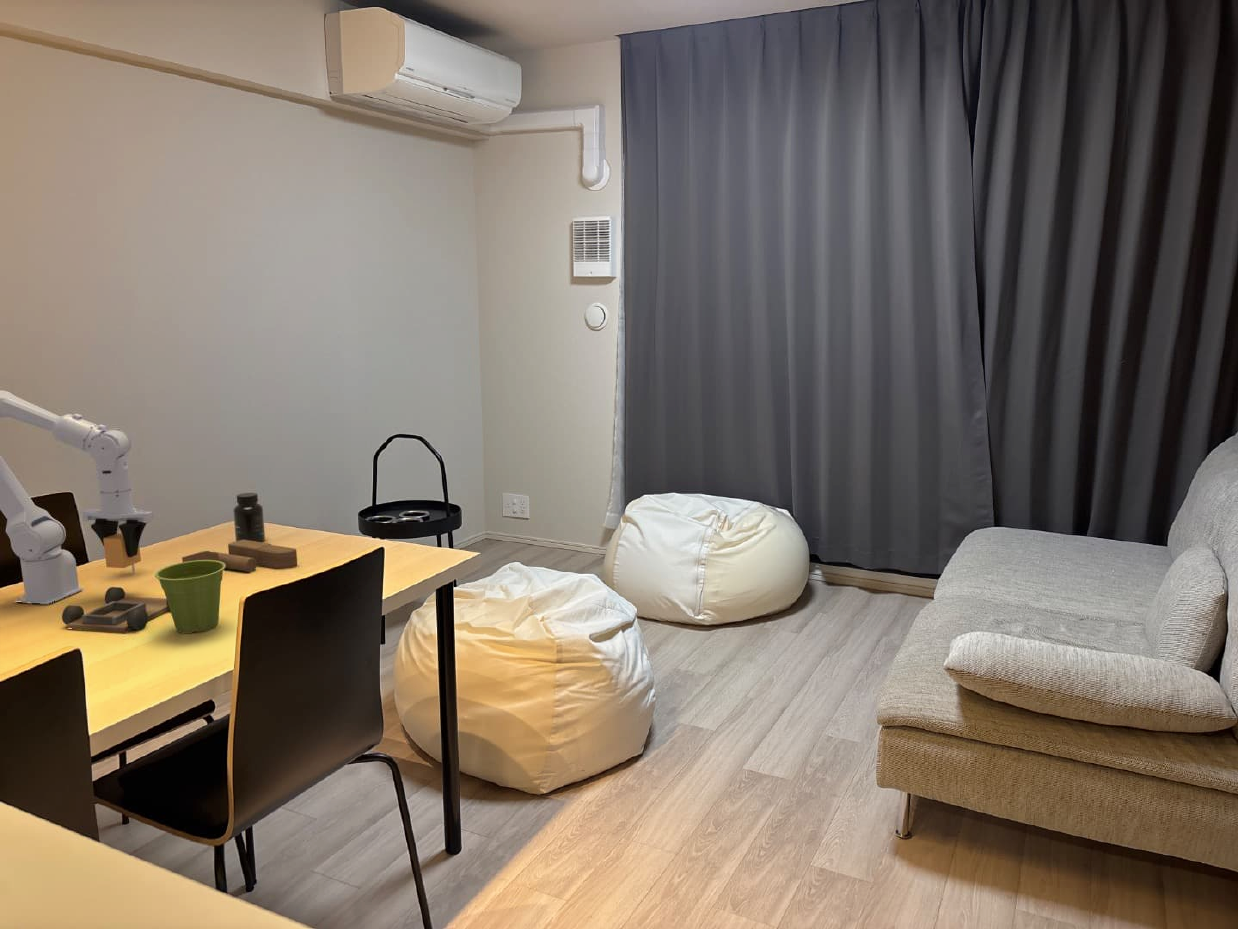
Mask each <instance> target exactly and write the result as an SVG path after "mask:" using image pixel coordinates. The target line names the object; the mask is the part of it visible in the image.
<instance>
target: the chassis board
mask: <svg viewBox="0 0 1238 929" xmlns="http://www.w3.org/2000/svg"><path fill="white" fill-rule="evenodd" d="M104 602H105V603H106V604H103V605H102V606H99V607H97V608H96V609H93V610H91V611H89V612H87V613H85V611H84V609H83V607H82V606H81V605H71V604H70V605H67V606H66V607H65V608H64V609H63V611H62V614H61V620H62V622H63V623H64V624H65V625H66V626H67V629H68V628H72V629H81V630H80V631H83V630H88V631H87V632H100V633H102V632H103V633H113V632H118V633H117V634H126V632H127V633H129V632H131V631H133V630H143V629H144V628H145V627H146V626H147V624H148V622H150V621H152V620H154V619H156V618H157V617H159V616H162V615H164V614H165V613H167V612H169V611H170V608H169V605H168V602H167V599H166V597H165V598H162V597H147V596H146V597H145V596H129V595H127V596H126V593H125V590H124V588H122V587H116V586H111V587H109V588H107V590H106V591H105V594H104Z"/></svg>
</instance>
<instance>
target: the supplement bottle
mask: <svg viewBox="0 0 1238 929" xmlns="http://www.w3.org/2000/svg"><path fill="white" fill-rule="evenodd" d="M258 502H259V496H258V493H257V492H256V493H255V492H243V493H238V494H237V495H236V503H237V505H235V506H234V508H233V512H232V513H233V522H234V523H233V524H234V534H235V536H234V537H235V542H236V541H240V540H249V541H256V542H262V543H264V541H265V539H266V533H265V520H264V509H263V506H262V505H261V504H260V503H258Z"/></svg>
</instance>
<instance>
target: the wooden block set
mask: <svg viewBox="0 0 1238 929" xmlns="http://www.w3.org/2000/svg"><path fill="white" fill-rule="evenodd" d="M227 549H228V550H227V551H228V553H226V552H225V553H224V552H218V551H210V550H202V551H199V552H196V553H192V554H188V555H185V556H182V557H181V563H182V562H188V561H196V560H216V561H221V562H223V563H225V565H226V567H225V569H227V570H228V569H229V570H234V571H241V572H246V573H253V572H254V571H255V570H256V569H257V567H265V568H269V569H276V570H283V569H291V568H295V567H297V565H298V554H297V548H293V547H287V546H280V545H275V544H272V543H266V542H256V541H249V540H240V541H236V540H235V541H233V542H230V543H228V545H227Z"/></svg>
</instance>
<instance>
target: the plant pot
mask: <svg viewBox="0 0 1238 929" xmlns="http://www.w3.org/2000/svg"><path fill="white" fill-rule="evenodd" d="M225 567H226V565H225V563H223V562H221V561H216V560H196V561H188V562H182V561H181V562H177V563H173V564H170V565H168V566H165V567H163V568H160V569H158V570H157V571H156V572H155V574H154V576H155V578H156V579H158V580H159V583H160V586H161V589H162V591H163V592H164V596H165V599H167V602H168V605H169V608H170V610H169V611H170V616H171V618H172V621H173V625H174V627H175V630H176V631H177V632H179V633H182V634H183V633H184V634H192V633H194V632H199V633H200V632H203V633H204V632H207V631H209V630H211V629H214V628H215V627H216V626H217V625H218V624H219V620H220V606H221V605H220V604H221V602H220V601H221V588H222V580H223V575H224V574H223V573H224V572H223V571H224V570H225V569H226V568H225Z"/></svg>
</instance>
